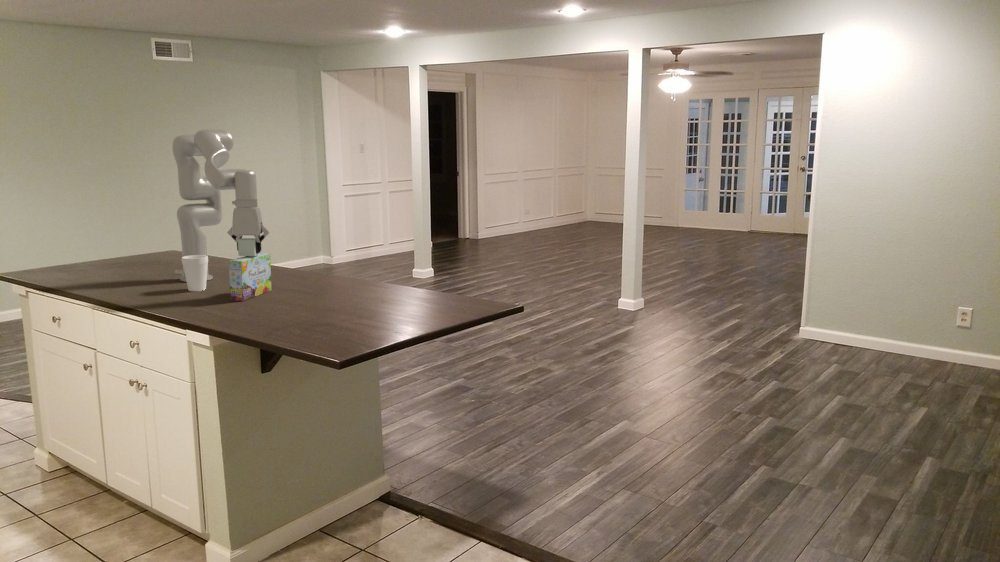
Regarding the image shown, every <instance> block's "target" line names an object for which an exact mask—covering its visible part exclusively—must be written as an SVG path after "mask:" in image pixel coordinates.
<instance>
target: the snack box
mask: <svg viewBox="0 0 1000 562" xmlns="http://www.w3.org/2000/svg"><path fill="white" fill-rule="evenodd" d="M271 266H272V264H271V253H269V252H260V254H258V255H256V256H240V257H237V258H234V259H230V260H228V268H229V269H228V270H229V271H228V272H229V273H228V274H229V293H230V295H229V296H230V301H233V302H244V301H247V300H250V299H253V298H255V296H256V297H258V296H261V295H263V293H264V294H266V293H268V291H269V292H271V291H272V267H271ZM260 294H261V295H260Z"/></svg>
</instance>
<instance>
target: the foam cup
mask: <svg viewBox="0 0 1000 562" xmlns="http://www.w3.org/2000/svg"><path fill="white" fill-rule="evenodd" d="M208 263H209V256H208V255H207V256H206V255H190V256H184V257H183V256H182V257H181V264H182V266H183V267H182V269H183V268H184V273H185V277H186V282H185V283H186V286H187V289H188V291H189V292H202V290H203V291H206V290H207V282H208V280H207V267H208V268H209V264H208ZM205 289H206V290H205Z"/></svg>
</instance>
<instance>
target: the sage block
mask: <svg viewBox="0 0 1000 562" xmlns="http://www.w3.org/2000/svg"><path fill="white" fill-rule="evenodd" d="M237 253H238V257H244V256H256V255H258V254H260V253H261V252H260V253H256V239H255V237H242V238H241V239H238V250H237Z"/></svg>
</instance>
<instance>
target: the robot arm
mask: <svg viewBox="0 0 1000 562" xmlns="http://www.w3.org/2000/svg"><path fill="white" fill-rule="evenodd" d="M171 147H172V148H171V149H172V155H173V158H174V160H175V163H176V166H177V168H176V169H177V179H178V181H177V182H178V192H179V196H180V197H181V199H182V200H184V201H205V202H203V203H202V202H201V203H187V204H183V205H180V206H179V207H178V208H177V211H176V219H177V222H178V227H179V231H180V241H181V253H182V254H181V255H182V257H184V256H190V255H206V256H208V249H207V248H208V247H207V238H206V235H205V233H204V232H203V230H202V229H200V227H209V226H217V225H219V224H221V222H222V218H223V217H222V216H223V211H222V195H221V193H222V192H221V191H225V190H227V191H231V190H234V191H235V192H234V193H235V200H232V201H231V204H232V206H233V205H234V206H235V207H234V208H233V212H232V225H231V227H230V228H229V229H228V231H227V232H226V234H228V235H229V236H230V237H231V239H233V240H234V242H235V243H236V249H237V250H236V251H238V239H241V238H243V236H253V238H255V239H256V253H261V251H262V242H263V241H264V240H265V239H266V237H267V236H268V235H269V234H270V231H269V230H268V229H267V228H266V227H265V226H264V223H263V218H262V214H261V209H260V207H258V206H259V205H258V188H257V174H256V172H255V171H254V170H251V169H250V170H247V169H243V168H237V169H236V168H231V169H230V168H229V169H228V168H227V169H226V168H223V169H219V168H222V167H223V166H225V165H226V164H227V163H228V162H229V159H230V151H231V150H232V149H233V147H234V138H233V135H232V134H231V133H230V132H229V131H228V130H226V129H211V128H210V129H201V130H198V131H197V132H195V134H180V135H178V136H176V137H175V138H174V139H173V141H172V146H171ZM195 157H204V159H205V162H204V163H205V164H204V175H205V176H202V175H201V167H200V163H199V162H198V160H197V159H196V158H195ZM261 234H262V235H261ZM174 275H176V276H179V275H180V276H181V277H180V278H179V279H180V281H181V282H184V283H187V282H186V277H185V273H184V268H183V267H182V269H175V270H174ZM213 278H214V277H213V275H212V274H209V266H208V267H207V281H210V280H212V279H213Z"/></svg>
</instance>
